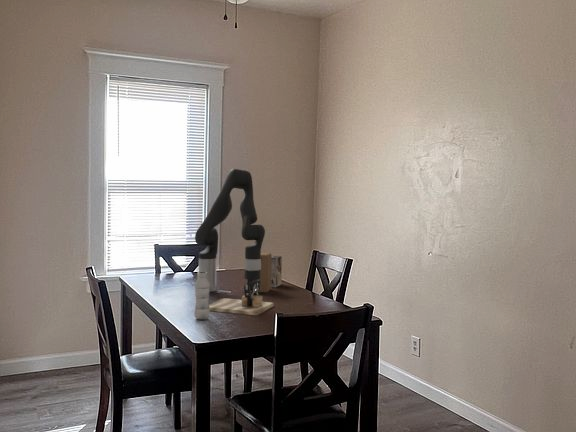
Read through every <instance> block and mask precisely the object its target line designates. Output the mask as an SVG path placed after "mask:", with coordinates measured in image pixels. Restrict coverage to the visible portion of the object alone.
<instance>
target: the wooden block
mask: <svg viewBox="0 0 576 432" xmlns="http://www.w3.org/2000/svg"><path fill="white" fill-rule="evenodd" d="M272 256H273V254H272V253H271V252H266V251H265V252H262V251H261V258H260V259H261V278H260V279H258V281H261V283H260V293H264V294H266V293H268V292H269V291H271V289H272V287H271V259H272Z"/></svg>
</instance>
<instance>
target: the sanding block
mask: <svg viewBox="0 0 576 432" xmlns="http://www.w3.org/2000/svg"><path fill="white" fill-rule="evenodd" d="M241 300H242V306H245V307H249V306H247V298H245V294H244V295H242V296H241ZM262 302H263V296H262V295H258V296H257V295H253V296H252V306H251V307H253V308H259V307H261V306H262Z"/></svg>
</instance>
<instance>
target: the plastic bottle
mask: <svg viewBox="0 0 576 432" xmlns="http://www.w3.org/2000/svg"><path fill="white" fill-rule="evenodd" d="M197 273H198V277H199V278H198V280H197V279H196V281H195V283H194V291H195V308H194V313H193V314H194V317H195V319H197V320H202V321H203V320H207V319H210V317H211V315H210V314H211V311H210V309H209V304H210V300H209V299H210V293H211V292H210V282H209V281H208V280H207V278H206V277H207V272H199V271H198V272H197Z"/></svg>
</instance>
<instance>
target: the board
mask: <svg viewBox="0 0 576 432" xmlns="http://www.w3.org/2000/svg"><path fill="white" fill-rule="evenodd" d="M273 307H274V302H271V301H270V302H269V301H262V306H261V307H259V308H253V307H245V306H242V299H238V298H237V299H236V298H225V297H223V298H220V299H219V300H216V301H214V302H212V303H209V309H210V312H219V313H229V314H240V315H250V316H259V315H260V314H262V313H264V312H266V311H267V310H269V309H271V308H273Z"/></svg>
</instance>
